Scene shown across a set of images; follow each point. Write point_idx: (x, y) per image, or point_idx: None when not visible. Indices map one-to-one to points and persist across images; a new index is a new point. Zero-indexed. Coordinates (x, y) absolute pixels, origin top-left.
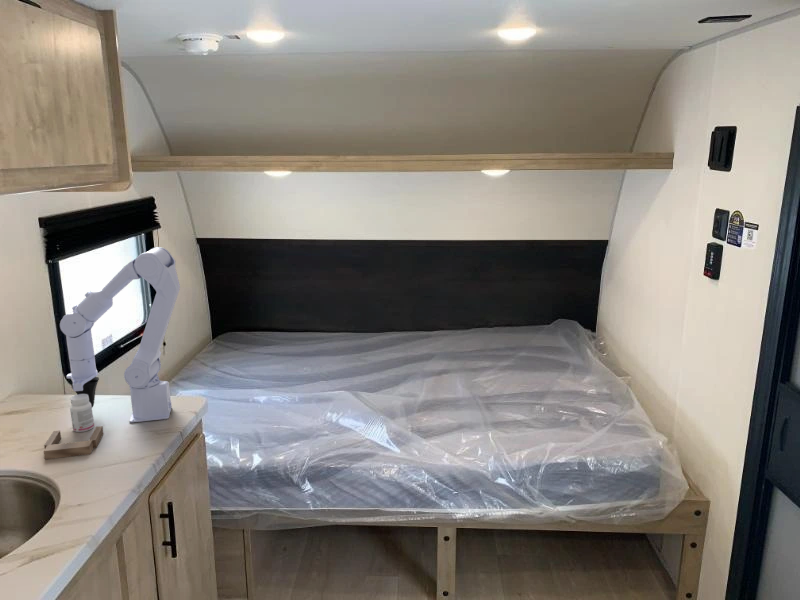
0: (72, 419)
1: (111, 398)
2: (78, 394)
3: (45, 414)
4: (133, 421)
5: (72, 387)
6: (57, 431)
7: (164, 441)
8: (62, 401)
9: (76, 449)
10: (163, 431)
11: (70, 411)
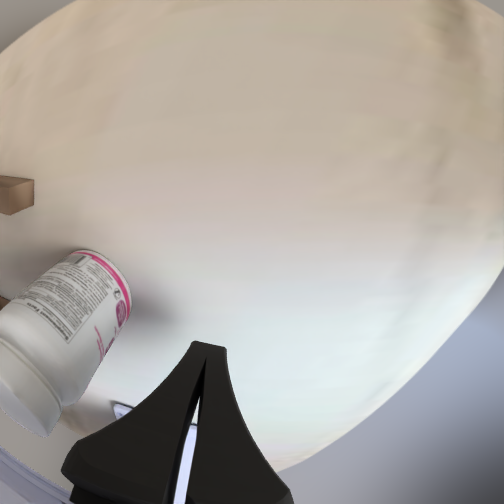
0: (35, 280)
1: (389, 379)
2: (32, 414)
3: (383, 101)
4: (115, 411)
5: (68, 453)
6: (4, 206)
7: None
8: (490, 202)
9: None
10: (72, 421)
11: (16, 299)
